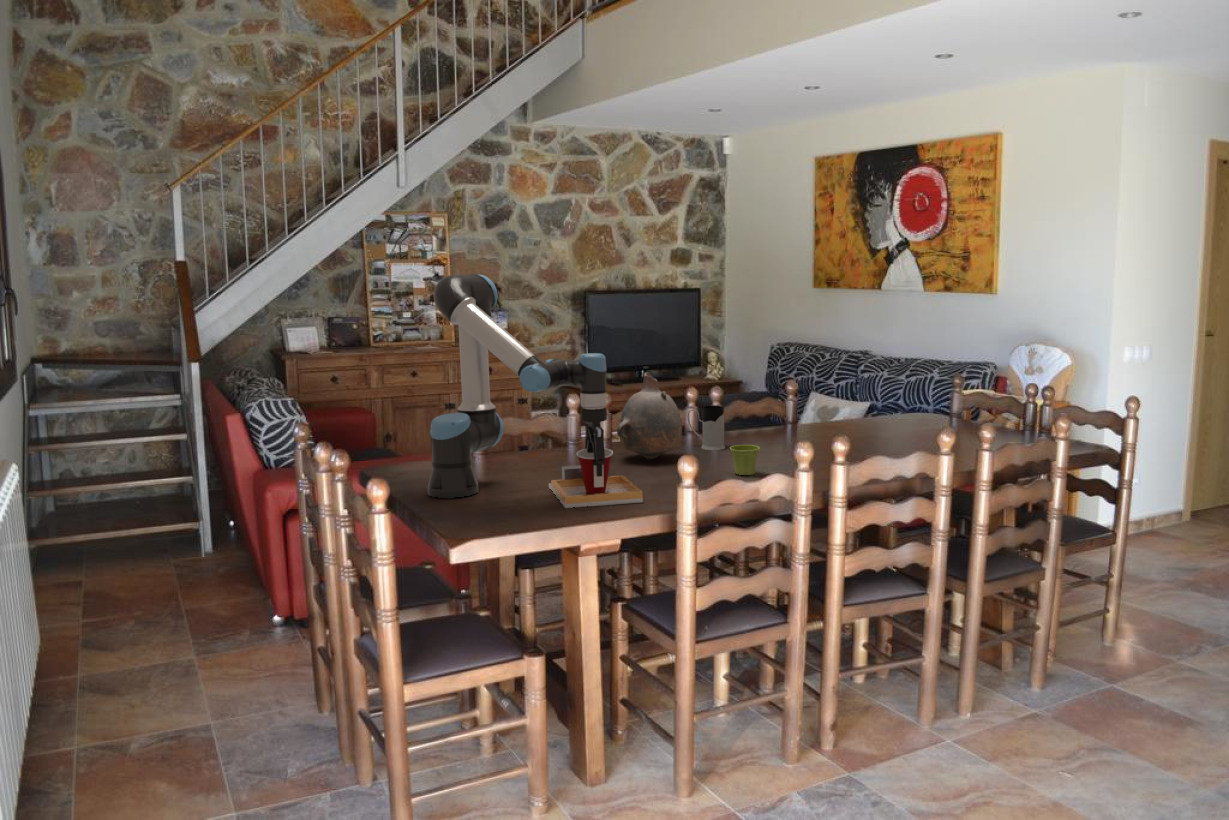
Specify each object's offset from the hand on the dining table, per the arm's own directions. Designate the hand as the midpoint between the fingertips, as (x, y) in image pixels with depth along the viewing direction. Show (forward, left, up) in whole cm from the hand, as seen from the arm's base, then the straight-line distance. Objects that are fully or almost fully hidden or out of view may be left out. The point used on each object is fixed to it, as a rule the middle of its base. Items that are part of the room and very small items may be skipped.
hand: (595, 483), depth 294 cm
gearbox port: (0, +2, -4) cm, 4 cm away
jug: (+30, +47, -4) cm, 56 cm away
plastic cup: (0, 0, -3) cm, 3 cm away
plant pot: (+52, +15, -4) cm, 54 cm away
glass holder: (+55, +62, -4) cm, 83 cm away
